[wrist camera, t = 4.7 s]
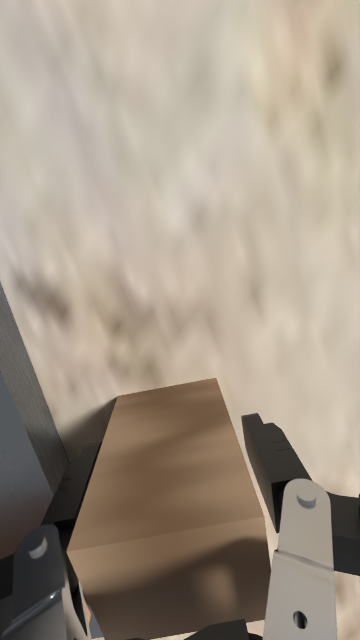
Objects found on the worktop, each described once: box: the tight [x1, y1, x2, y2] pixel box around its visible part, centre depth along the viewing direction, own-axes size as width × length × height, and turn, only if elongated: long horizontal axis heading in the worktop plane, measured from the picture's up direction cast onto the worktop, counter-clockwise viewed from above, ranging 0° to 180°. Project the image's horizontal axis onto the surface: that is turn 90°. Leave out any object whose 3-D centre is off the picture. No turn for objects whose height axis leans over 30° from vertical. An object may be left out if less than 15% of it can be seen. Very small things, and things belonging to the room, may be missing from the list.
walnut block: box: [66, 378, 271, 640], centre depth 11 cm, size 5×4×7 cm
